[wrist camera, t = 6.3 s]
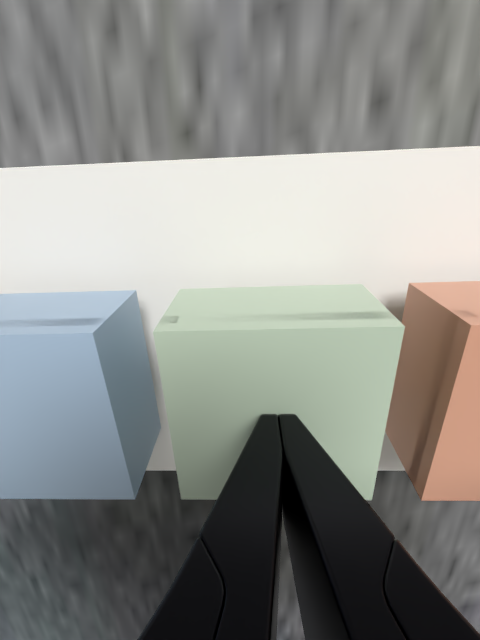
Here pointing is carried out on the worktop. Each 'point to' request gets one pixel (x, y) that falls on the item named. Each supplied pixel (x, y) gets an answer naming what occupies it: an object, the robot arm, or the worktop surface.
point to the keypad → (242, 231)
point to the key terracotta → (439, 391)
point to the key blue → (74, 396)
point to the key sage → (276, 375)
